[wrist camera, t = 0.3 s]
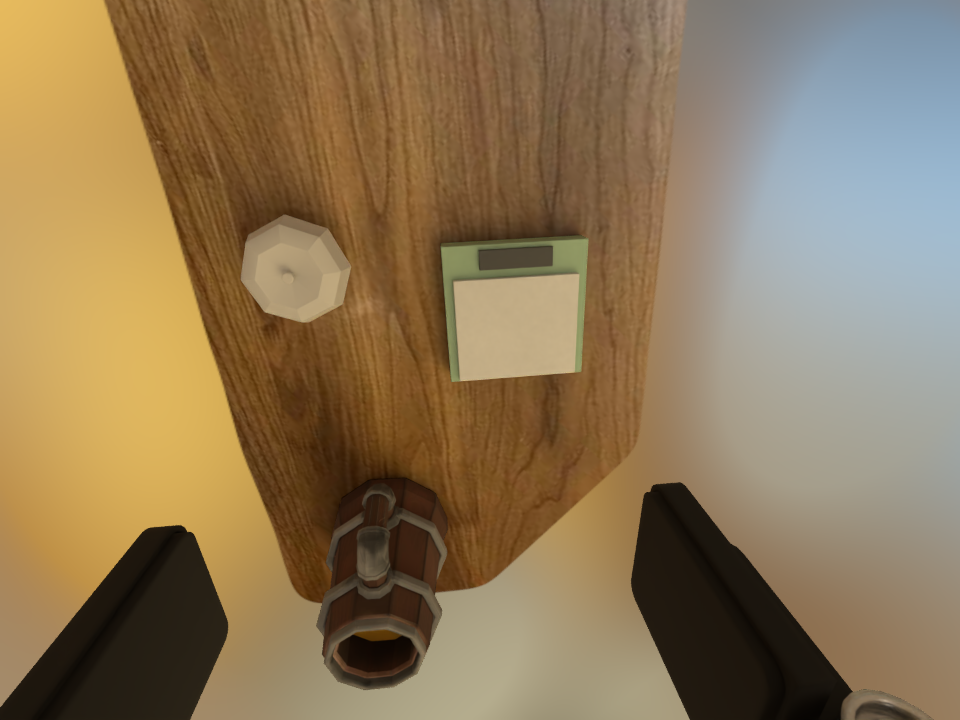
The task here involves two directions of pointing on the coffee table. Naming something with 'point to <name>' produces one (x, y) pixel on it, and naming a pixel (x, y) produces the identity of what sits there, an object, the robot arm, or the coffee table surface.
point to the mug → (383, 583)
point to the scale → (514, 306)
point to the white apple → (295, 269)
